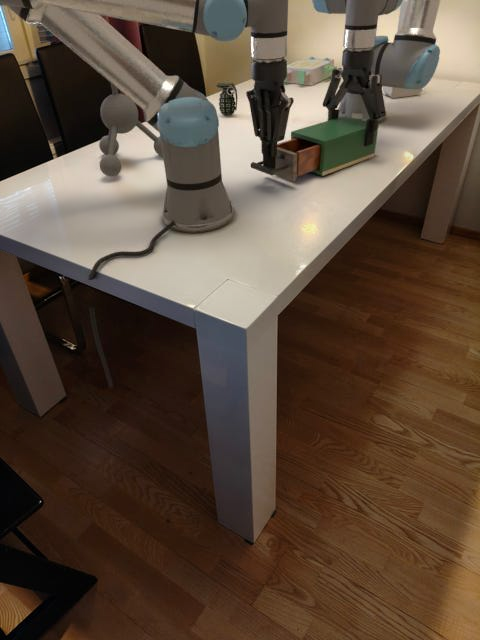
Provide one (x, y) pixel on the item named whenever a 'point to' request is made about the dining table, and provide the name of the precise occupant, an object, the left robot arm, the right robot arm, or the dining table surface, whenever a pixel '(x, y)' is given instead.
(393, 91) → the electronic device
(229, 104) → the grenade
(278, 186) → the dining table surface
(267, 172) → the drawer
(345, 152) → the cabinet
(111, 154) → the molecular model
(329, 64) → the decorative block
